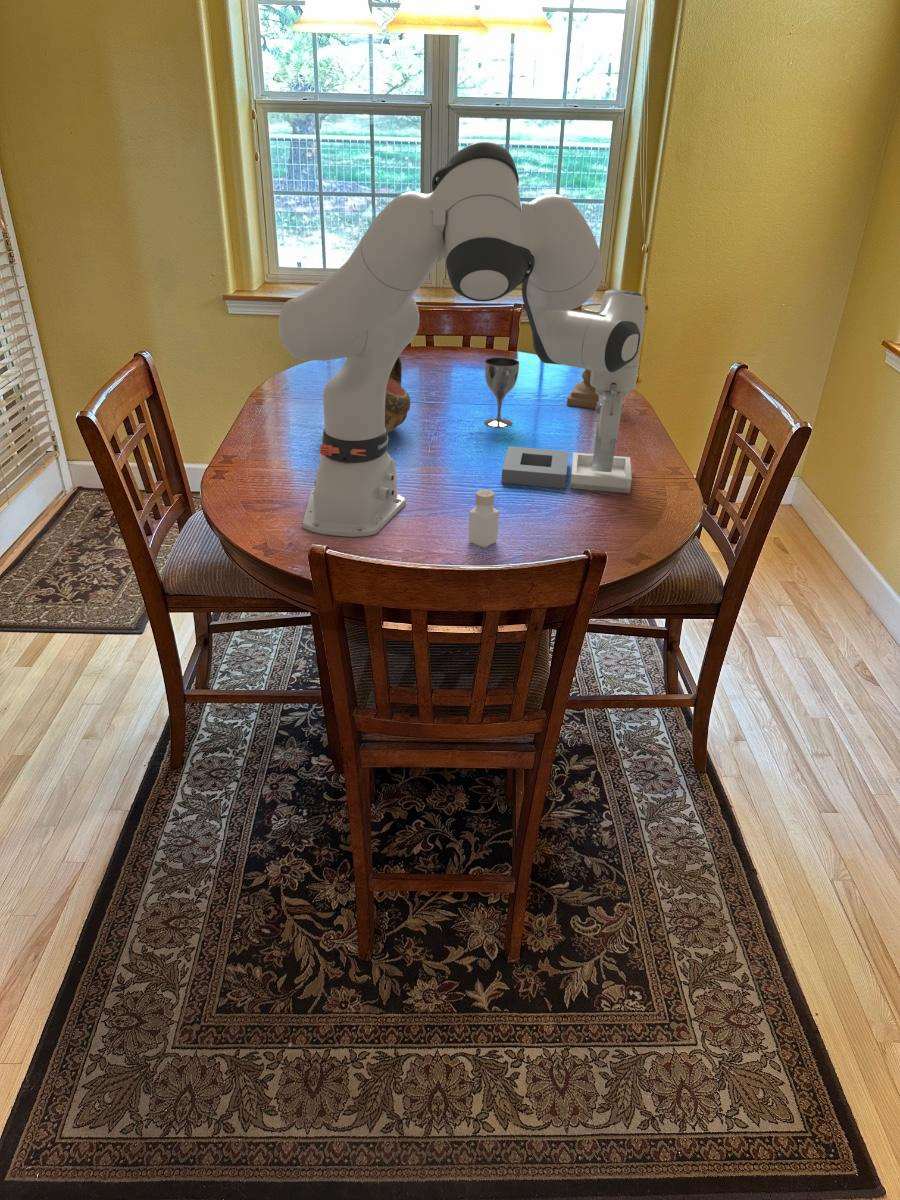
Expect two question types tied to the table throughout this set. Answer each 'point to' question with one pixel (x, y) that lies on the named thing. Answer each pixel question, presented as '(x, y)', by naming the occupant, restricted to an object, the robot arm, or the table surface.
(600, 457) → the pin
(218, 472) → the table surface
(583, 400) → the candle holder
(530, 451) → the holder block
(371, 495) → the robot arm
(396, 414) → the ceramic vessel
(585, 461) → the tray
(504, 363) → the wine glass
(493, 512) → the pepper shaker
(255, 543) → the table surface
